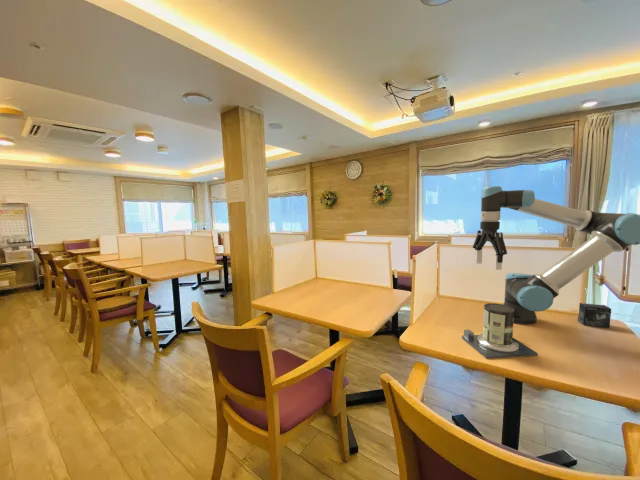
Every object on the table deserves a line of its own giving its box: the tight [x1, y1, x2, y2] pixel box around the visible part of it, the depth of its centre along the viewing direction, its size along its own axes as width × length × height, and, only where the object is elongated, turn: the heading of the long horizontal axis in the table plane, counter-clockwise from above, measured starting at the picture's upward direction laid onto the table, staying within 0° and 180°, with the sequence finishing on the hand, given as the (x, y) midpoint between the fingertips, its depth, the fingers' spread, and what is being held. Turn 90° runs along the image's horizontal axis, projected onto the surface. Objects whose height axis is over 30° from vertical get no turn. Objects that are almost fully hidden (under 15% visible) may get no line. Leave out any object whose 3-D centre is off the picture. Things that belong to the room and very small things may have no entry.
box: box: [577, 302, 612, 329], centre depth 127 cm, size 9×6×10 cm, turn 68°
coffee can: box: [482, 302, 515, 347], centre depth 108 cm, size 10×10×14 cm
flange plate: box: [461, 329, 539, 359], centre depth 109 cm, size 20×16×4 cm
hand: (487, 266), depth 126 cm, fingers open, 13 cm apart
